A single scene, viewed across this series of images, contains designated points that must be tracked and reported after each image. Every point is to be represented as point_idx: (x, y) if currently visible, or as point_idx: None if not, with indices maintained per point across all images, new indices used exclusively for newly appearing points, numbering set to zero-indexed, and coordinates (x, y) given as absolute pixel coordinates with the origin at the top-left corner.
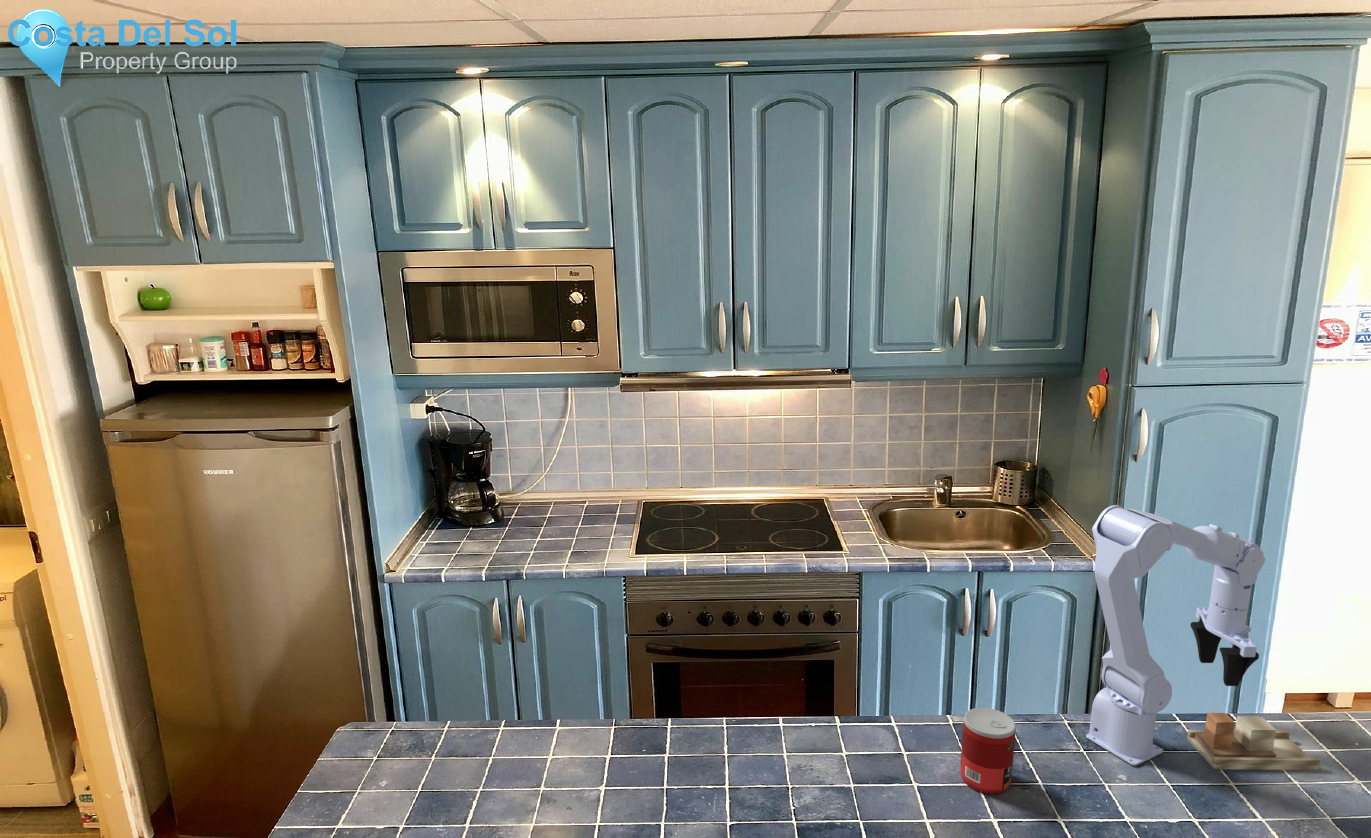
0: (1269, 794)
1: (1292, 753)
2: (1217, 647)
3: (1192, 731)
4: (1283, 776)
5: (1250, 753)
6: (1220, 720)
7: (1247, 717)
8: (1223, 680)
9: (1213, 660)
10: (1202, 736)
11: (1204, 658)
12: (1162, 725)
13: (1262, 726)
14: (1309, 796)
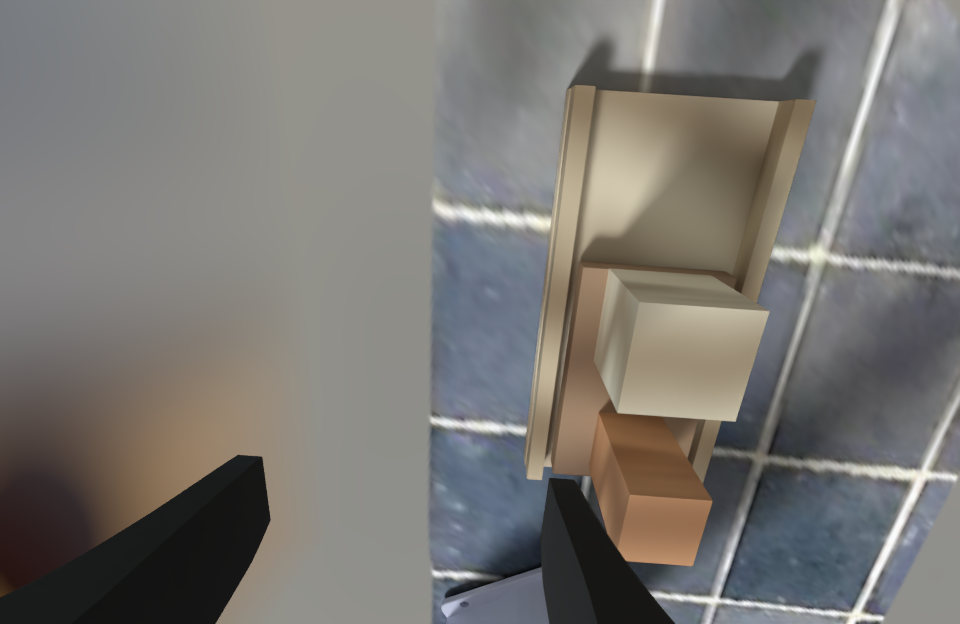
0: (841, 385)
1: (695, 160)
2: (165, 544)
3: (538, 471)
4: (777, 276)
5: None
6: (683, 546)
7: (638, 376)
8: (542, 569)
9: (250, 468)
10: (576, 463)
11: (251, 538)
12: (445, 481)
13: (723, 355)
14: (898, 263)
